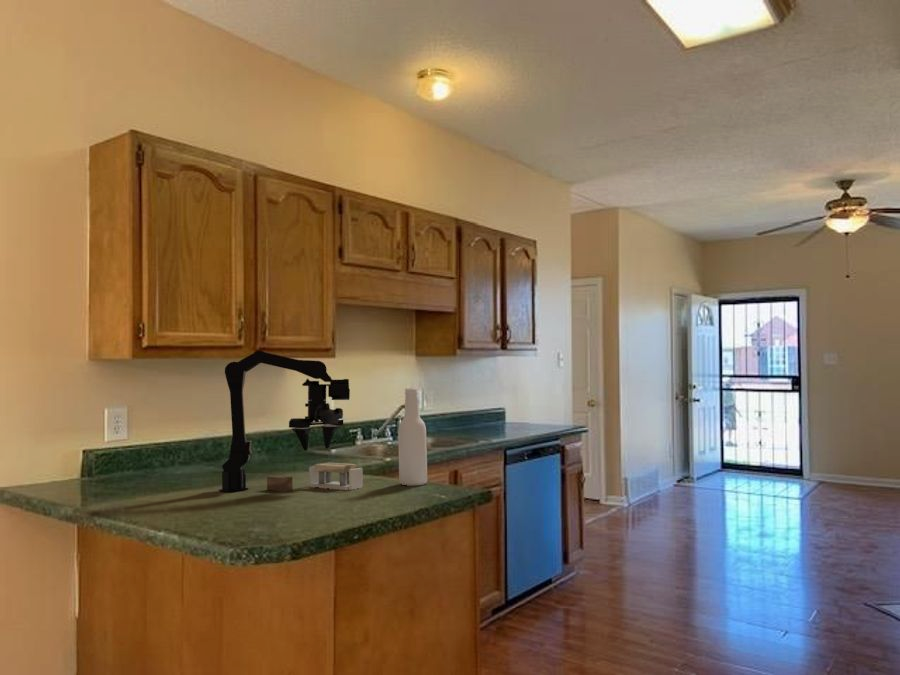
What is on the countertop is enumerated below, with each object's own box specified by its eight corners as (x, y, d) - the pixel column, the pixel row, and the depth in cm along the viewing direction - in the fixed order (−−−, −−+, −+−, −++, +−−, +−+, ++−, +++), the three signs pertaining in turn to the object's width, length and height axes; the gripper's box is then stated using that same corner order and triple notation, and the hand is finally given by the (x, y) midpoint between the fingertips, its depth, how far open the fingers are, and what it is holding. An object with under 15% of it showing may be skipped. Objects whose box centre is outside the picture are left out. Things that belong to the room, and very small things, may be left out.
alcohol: (395, 483, 219) (393, 388, 221) (420, 481, 223) (418, 388, 225) (406, 487, 211) (403, 388, 213) (432, 484, 215) (429, 388, 217)
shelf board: (343, 472, 210) (343, 466, 210) (314, 471, 216) (314, 464, 217) (356, 470, 215) (356, 464, 215) (328, 468, 221) (328, 462, 222)
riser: (285, 491, 209) (284, 478, 209) (267, 489, 213) (267, 476, 213) (292, 490, 211) (292, 476, 211) (274, 488, 216) (274, 475, 216)
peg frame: (349, 490, 207) (349, 470, 208) (307, 486, 217) (306, 467, 218) (365, 487, 213) (364, 467, 214) (322, 483, 223) (322, 464, 224)
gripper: (313, 401, 208) (312, 453, 207) (355, 399, 224) (355, 448, 222) (288, 400, 215) (287, 451, 214) (331, 399, 230) (330, 446, 229)
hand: (316, 449), depth 220 cm, fingers open, 9 cm apart
